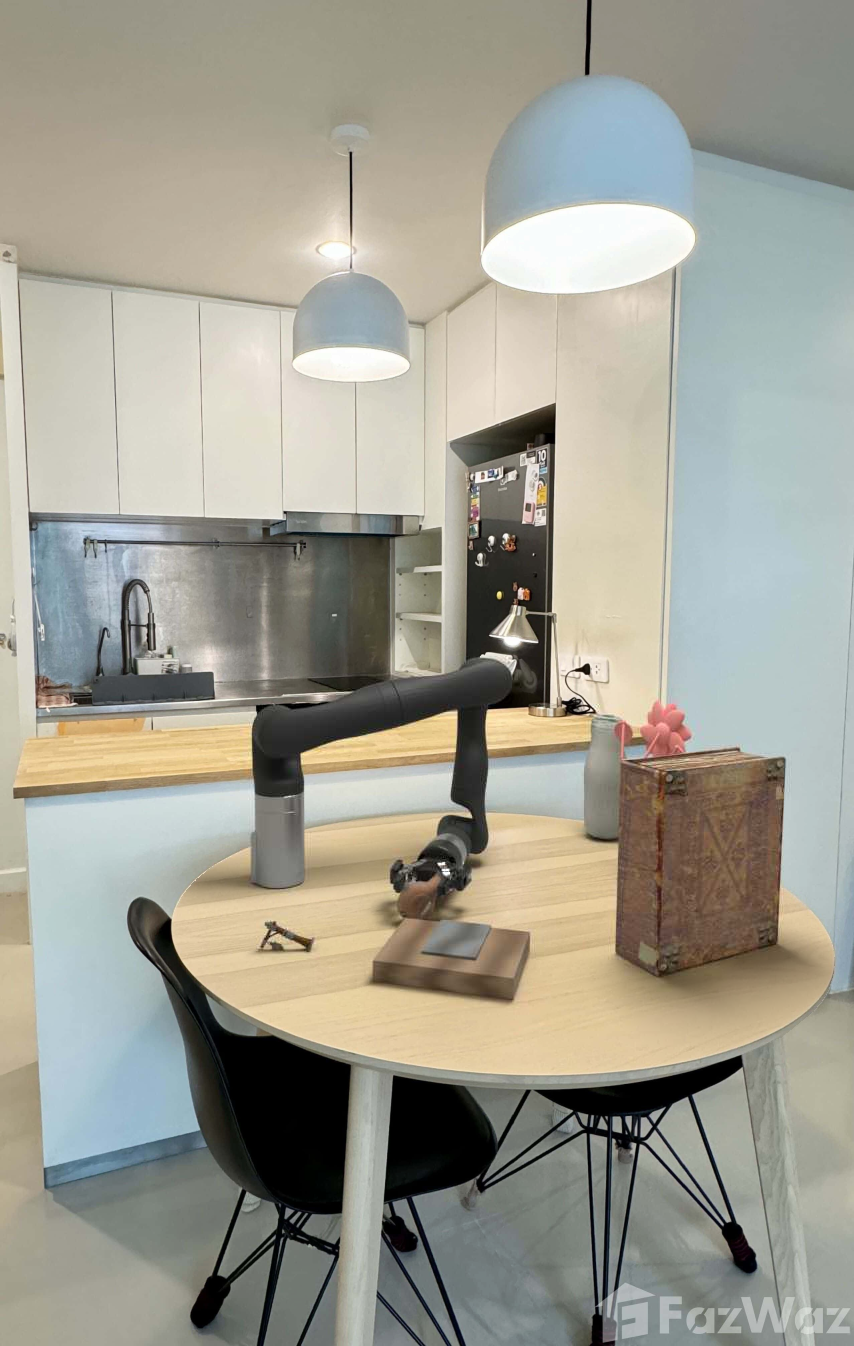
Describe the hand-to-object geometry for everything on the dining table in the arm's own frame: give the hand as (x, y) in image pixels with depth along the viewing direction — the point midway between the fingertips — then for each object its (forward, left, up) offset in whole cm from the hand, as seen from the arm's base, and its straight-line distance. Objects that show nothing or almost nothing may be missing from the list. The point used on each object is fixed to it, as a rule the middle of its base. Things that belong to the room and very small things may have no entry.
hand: (418, 889), depth 136 cm
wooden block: (+9, -13, -6) cm, 17 cm away
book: (+44, +3, -6) cm, 45 cm away
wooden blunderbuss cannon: (-17, -15, -7) cm, 23 cm away
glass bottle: (+27, +59, -6) cm, 66 cm away
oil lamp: (0, +2, -6) cm, 7 cm away
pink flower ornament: (+39, +32, -6) cm, 51 cm away
